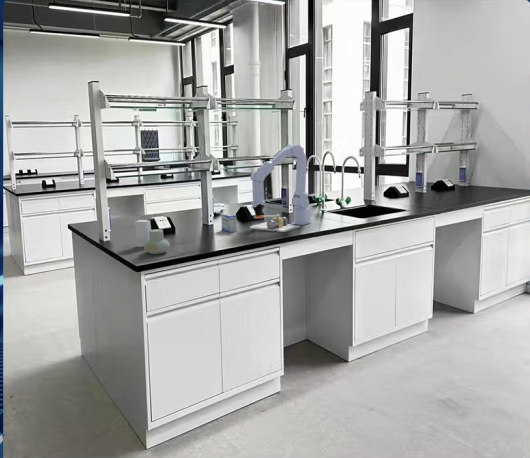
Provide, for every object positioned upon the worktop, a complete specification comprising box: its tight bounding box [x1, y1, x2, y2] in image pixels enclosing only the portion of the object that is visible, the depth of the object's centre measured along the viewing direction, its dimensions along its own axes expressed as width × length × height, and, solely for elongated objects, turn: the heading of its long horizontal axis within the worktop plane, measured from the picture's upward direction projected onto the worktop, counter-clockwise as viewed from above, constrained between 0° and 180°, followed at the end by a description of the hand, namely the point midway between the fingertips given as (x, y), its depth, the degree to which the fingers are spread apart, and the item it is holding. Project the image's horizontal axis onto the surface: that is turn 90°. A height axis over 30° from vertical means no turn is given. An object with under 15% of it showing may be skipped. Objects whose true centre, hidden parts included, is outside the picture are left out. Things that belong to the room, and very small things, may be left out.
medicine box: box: [220, 213, 238, 233], centre depth 254 cm, size 8×4×9 cm, turn 40°
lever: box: [253, 214, 281, 220], centre depth 258 cm, size 14×3×1 cm, turn 99°
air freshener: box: [143, 228, 171, 255], centre depth 210 cm, size 11×8×10 cm
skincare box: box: [134, 219, 152, 248], centre depth 222 cm, size 6×4×12 cm
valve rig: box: [249, 216, 301, 233], centre depth 260 cm, size 16×22×6 cm
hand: (258, 218), depth 260 cm, fingers closed
